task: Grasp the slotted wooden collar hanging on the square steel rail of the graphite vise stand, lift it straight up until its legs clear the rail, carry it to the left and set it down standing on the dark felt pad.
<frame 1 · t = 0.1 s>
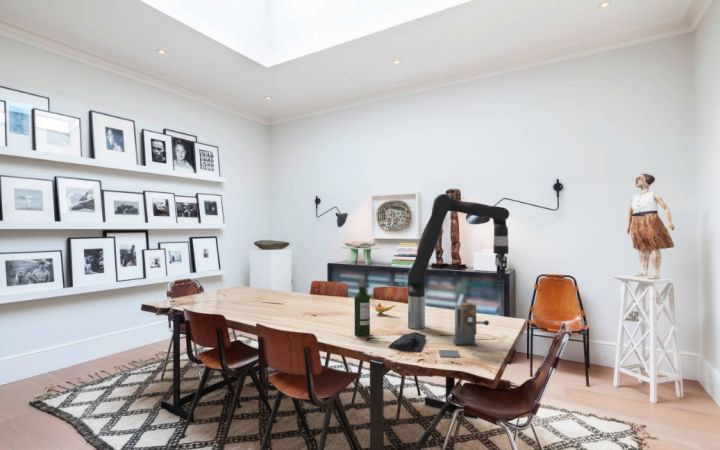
hand: (500, 274, 198), 29 cm above the table, tool pointing down, fingers open, 8 cm apart
vise stand: (464, 343, 175), on the table
dark slate chunk: (409, 345, 174), on the table
wine bottle: (362, 334, 189), on the table
felt pad: (449, 354, 160), on the table
slotted wooden collar: (468, 333, 164), point 8 cm above the table, touching vise stand
magic lamp: (383, 315, 229), on the table
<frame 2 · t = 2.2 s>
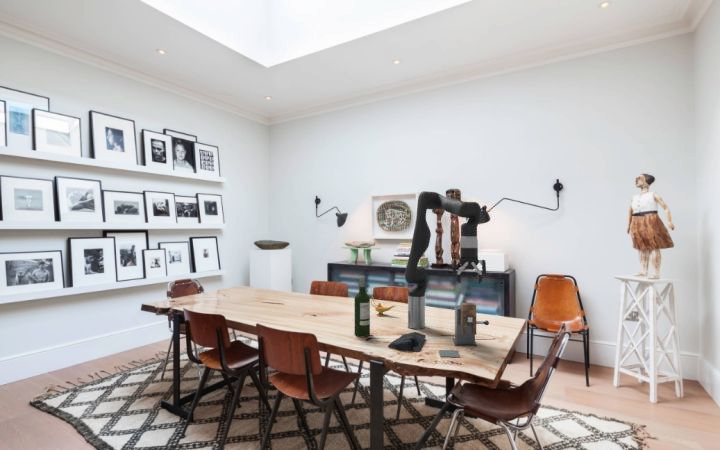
hand: (469, 283, 164), 30 cm above the table, tool pointing down, fingers open, 8 cm apart
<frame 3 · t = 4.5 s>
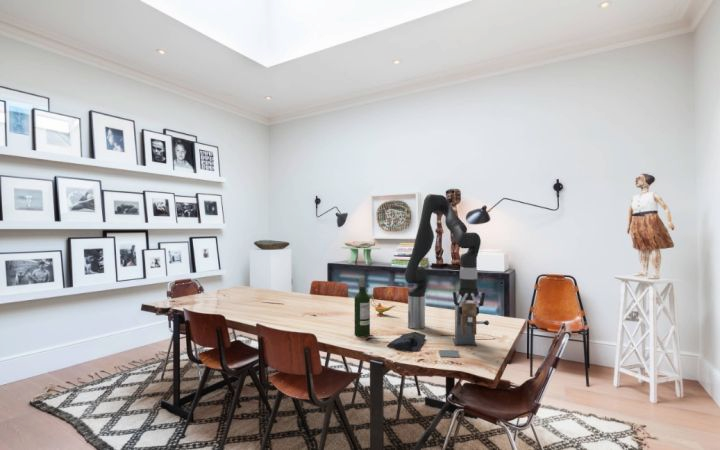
hand: (468, 314, 164), 16 cm above the table, tool pointing down, fingers closed on slotted wooden collar, 6 cm apart
slotted wooden collar: (468, 333, 164), point 8 cm above the table, touching gripper, vise stand
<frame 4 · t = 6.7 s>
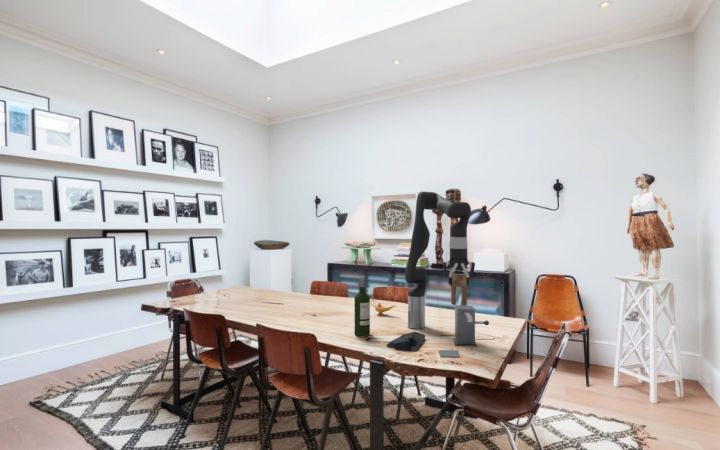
hand: (458, 285, 162), 30 cm above the table, tool pointing down, fingers closed on slotted wooden collar, 6 cm apart
slotted wooden collar: (458, 303, 162), point 21 cm above the table, touching gripper
when the fingers open (9 cm above the table, at t = 10.4 s): slotted wooden collar stays where it is, resting on felt pad.
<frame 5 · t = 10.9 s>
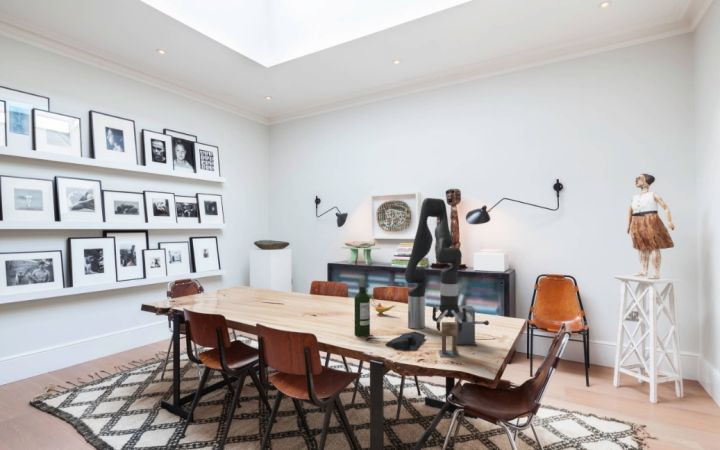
hand: (449, 330, 160), 10 cm above the table, tool pointing down, fingers open, 8 cm apart
slotted wooden collar: (449, 353, 160), resting on felt pad
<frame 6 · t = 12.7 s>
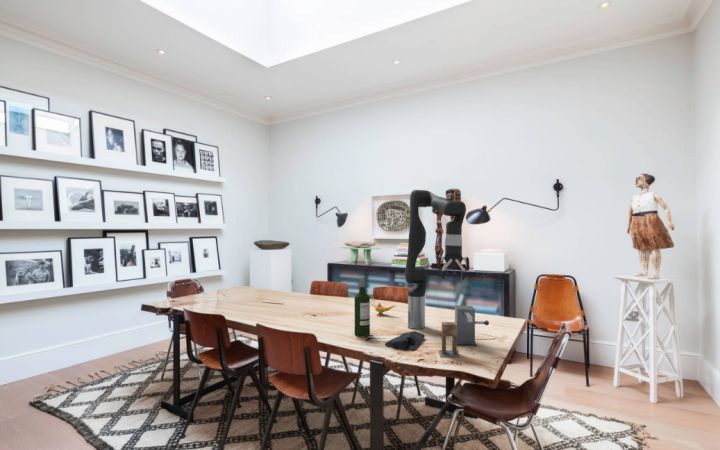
hand: (453, 279, 170), 31 cm above the table, tool pointing down, fingers open, 8 cm apart
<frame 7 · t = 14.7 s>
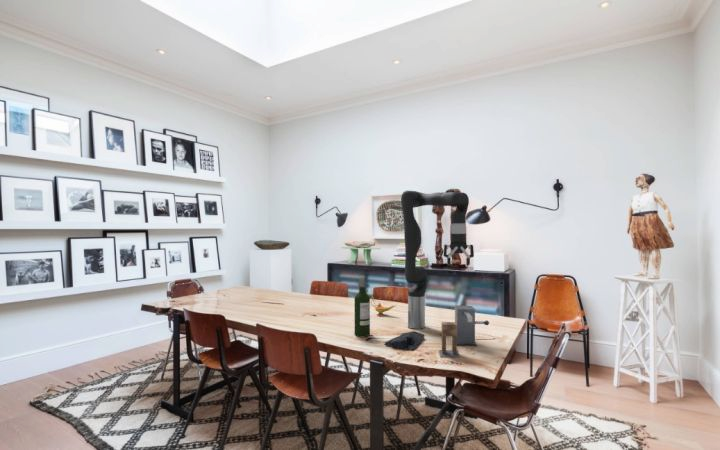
hand: (458, 265, 181), 36 cm above the table, tool pointing down, fingers open, 8 cm apart
at the end: slotted wooden collar inside the target area (0.1 cm from its centre), resting on felt pad; slotted wooden collar tilted 0°; the gripper is holding nothing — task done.
